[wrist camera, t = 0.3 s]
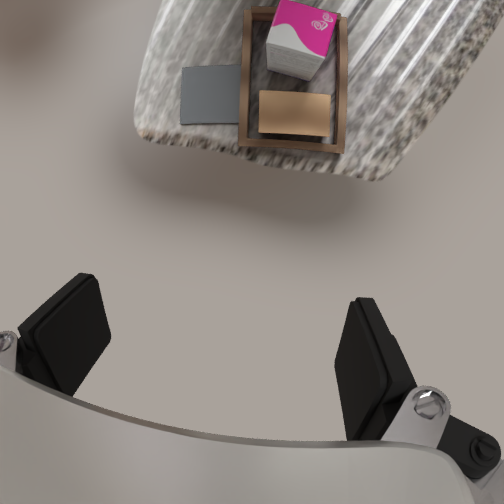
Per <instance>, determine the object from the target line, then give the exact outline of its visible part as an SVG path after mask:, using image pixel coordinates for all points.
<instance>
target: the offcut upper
mask: <svg viewBox="0 0 504 504" xmlns="http://www.w3.org/2000/svg"><path fill="white" fill-rule="evenodd" d="M330 99H331V95H326V94H316V93H305V92H290V91H265V90H259V133H279V134H297V135H311V136H323V137H329V132H330Z"/></svg>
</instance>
